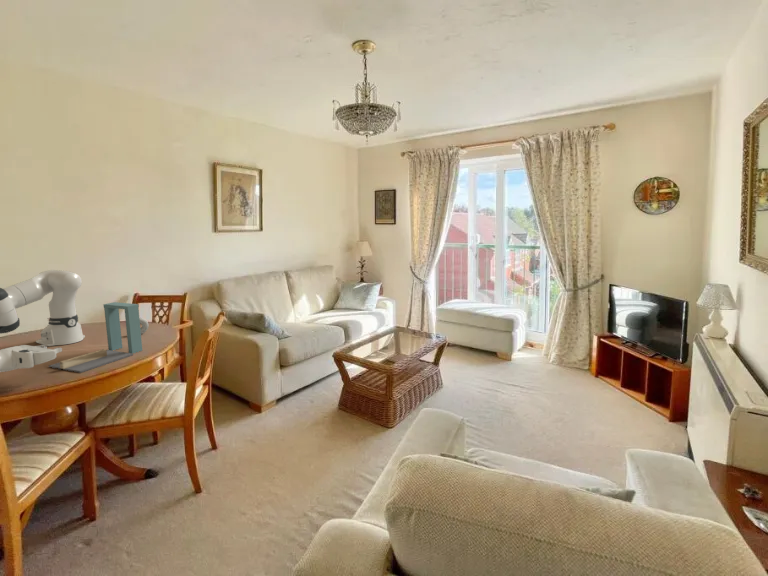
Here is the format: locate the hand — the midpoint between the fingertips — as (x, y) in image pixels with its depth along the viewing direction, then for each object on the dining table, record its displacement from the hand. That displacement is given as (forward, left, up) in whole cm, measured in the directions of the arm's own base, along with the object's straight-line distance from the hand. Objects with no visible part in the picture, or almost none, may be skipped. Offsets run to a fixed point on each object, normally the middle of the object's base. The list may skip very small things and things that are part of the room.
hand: (53, 348), depth 168 cm
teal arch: (0, +32, -11) cm, 34 cm away
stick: (0, +12, -10) cm, 16 cm away
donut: (-20, +57, -11) cm, 62 cm away
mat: (0, +16, -11) cm, 19 cm away
